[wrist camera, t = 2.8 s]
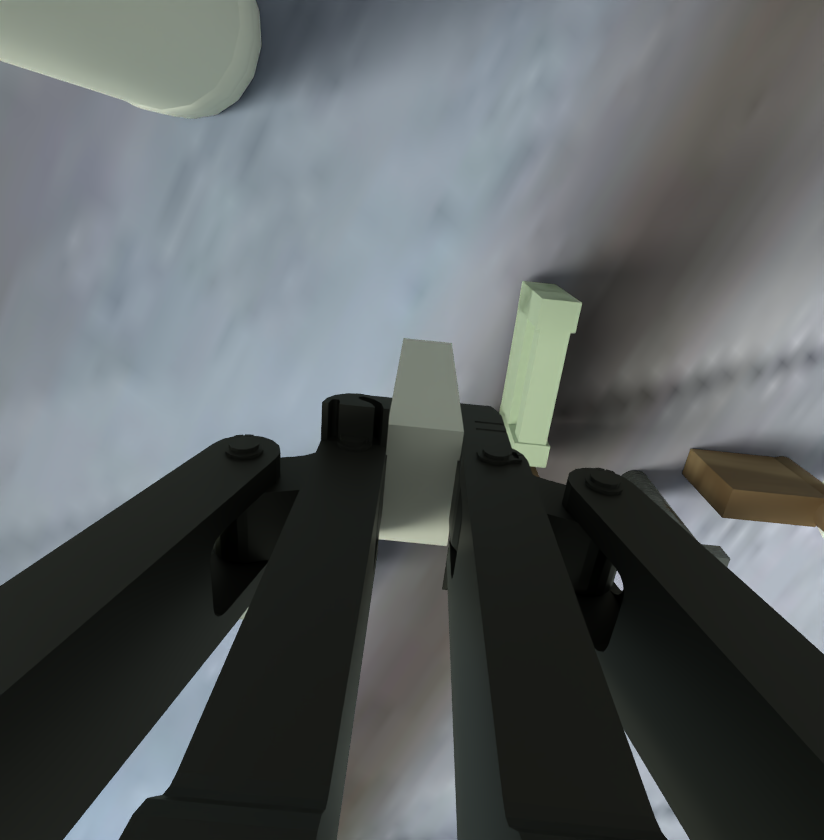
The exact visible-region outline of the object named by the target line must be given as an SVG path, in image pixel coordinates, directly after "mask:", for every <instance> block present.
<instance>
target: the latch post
mask: <svg viewBox="0 0 824 840" xmlns="http://www.w3.org/2000/svg"><path fill="white" fill-rule="evenodd" d="M622 477H625V478H626V479H628V480H629V481H630V482H632V483H633V484H635V485H636V486H637V487H638V488H639V489H640V490H641V491H642V492H644V493H645V494H646V495H647V496H648V497H649V498H650V499H651V500H653V501H654V502H655V503H656V504H657V505H658V506H659V507H660V508H661V509H663V510H664V511H665V512H666V513H667V514H668V515H669V516H670V517H671V518H673V519H674V520H675V521H676V522H677V523H678V524H679V525H680V526H681V527H683V528H684V529H685V530H686V531H687V532H688V533H689V534H690V535H691V536H693V535H692V534H691V532H690V531H689V530H688V529H687V527H686V526H685V525H684V523H683V522H682V521H681V520H680V518H679V517H678V516H677V514H676V513H675V512H674V511H673V509H672V508H671V507H670V505H669V504H668V503H667V502H666V500H665V499H664V498H663V496H662V495H661V494H660V493H659V491H658V490H657V489H656V487H655V486H654V485H653V484H652V482H651V481H650V480H649V479H648V477H647V476H646V475H645V474H644V473H643V472H640V471H629V472H626V473H624V474H623V475H622ZM693 537H694V536H693ZM694 538H695V537H694ZM702 545H703V544H702ZM703 546H704V547H705V548H706V549H707V550H708V551H709V552H710V553H712V554H713V555H714V556H715V557H716V558H717V559H718V560H719V561H720V562H722V563H723V564H724V565H725V566H726V567H727V566H728V563H729V561H730V558H729V557H728V555H727V554H726V553H725V552H724V551H723V549H722V548H721V547H720V546H713V545H703Z"/></svg>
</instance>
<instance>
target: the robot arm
mask: <svg viewBox="0 0 824 840" xmlns="http://www.w3.org/2000/svg"><path fill="white" fill-rule="evenodd" d="M449 533H450V541H449V548H448V554H447V561H446V567H445V574H444V581H443V587H442V589H443V590H448V608H449V634H450V660H451V685H452V711H453V737H454V762H455V788H456V814H457V839H458V840H668V839H667V838H666V837H665V836H664V834H663V833H662V832H661V830H660V827H659V825H658V823H657V821H656V819H655V816H654V814H653V811H652V808H651V805H650V802H649V800H648V797H647V794H646V791H645V788H644V785H643V783H642V780H641V777H640V774H639V771H638V769H637V766H636V763H635V760H634V757H633V755H632V752H631V749H630V746H629V743H628V741H627V738H626V735H625V732H626V734H627V736H628V737H629V739H630V741H631V742H632V744H633V746H634V747H635V749H636V751H637V752H638V754H639V756H640V757H641V759H642V761H643V762H644V764H645V766H646V767H647V769H648V771H649V772H650V774H651V776H652V777H653V779H654V781H655V782H656V784H657V786H658V787H659V789H660V791H661V792H662V794H663V796H664V797H665V799H666V801H667V802H668V804H669V806H670V807H671V809H672V810H673V812H674V814H675V815H676V817H677V819H678V820H679V822H680V824H681V825H682V827H683V829H684V830H685V832H686V834H687V835H688V837H689V839H690V840H824V654H823V653H822V652H821V651H820V650H819V649H817V648H816V647H815V646H814V645H813V644H812V643H811V642H810V641H808V640H807V639H806V638H805V637H804V636H803V635H802V634H801V633H800V632H798V631H797V630H796V629H795V628H794V627H793V626H792V625H791V624H790V623H788V622H787V621H786V620H785V619H784V618H783V617H782V616H781V615H780V614H778V613H777V612H776V611H775V610H774V609H773V608H772V607H771V606H769V605H768V604H767V603H766V602H765V601H764V600H763V599H762V598H761V597H759V596H758V595H757V594H756V593H755V592H754V591H753V590H752V589H751V588H749V587H748V586H747V585H746V584H745V583H744V582H743V581H742V580H741V579H739V578H738V577H737V576H736V575H735V574H734V573H733V572H732V571H730V570H729V569H728V568H727V567H726V566H725V565H724V564H723V563H722V562H720V561H719V560H718V559H717V558H716V557H715V556H714V555H713V554H712V553H710V552H709V551H708V550H707V549H706V548H705V547H704V546H703V545H702V544H700V543H699V542H698V541H697V540H696V539H695V538H694V537H693V536H691V535H690V534H689V533H688V532H687V531H686V530H685V529H684V528H683V527H681V526H680V525H679V524H678V523H677V522H676V521H675V520H674V519H673V518H671V517H670V516H669V515H668V514H667V513H666V512H665V511H664V510H663V509H661V508H660V507H659V506H658V505H657V504H656V503H655V502H654V501H653V500H651V499H650V498H649V497H648V496H647V495H646V494H645V493H644V492H642V491H641V490H640V489H639V488H638V487H637V486H636V485H635V484H633V483H632V482H630V481H629V480H628V479H626V478H625V477H622V476H620V475H618V474H615V472H613V471H610V470H607V469H606V470H604V469H602V468H580V469H575V470H574V471H572V472H570V473H569V476H568V480H567V484H566V485H564V484H560V483H556V482H553V481H549V480H546V479H543V478H540V477H537V476H535V475H533V474H532V471H531V468H530V465H529V462H528V460H527V459H526V458H525V456H524V455H523V454H521V453H520V452H518V451H517V450H515V449H512V447H511V444H510V441H509V437H508V434H507V433H506V428H505V426H504V422H503V419H502V415H501V414H500V413H498V412H497V411H496V410H495V409H493V408H492V407H491V406H481V405H471V404H462V403H460V399H459V392H458V385H457V378H456V371H455V363H454V356H453V349H452V343H445V342H435V341H425V340H416V339H406V338H404V339H403V344H402V349H401V355H400V360H399V366H398V371H397V376H396V382H395V387H394V393H393V398H388V397H379V396H370V395H364V394H350V393H347V394H339V395H334V396H331V397H328V398H326V399H325V400H324V401H323V402H322V425H321V442H320V444H319V446H318V449H317V451H316V453H313V454H309V455H305V456H297V457H282V458H280V448H279V445H278V444H277V443H275V442H274V441H273V440H270V439H267V438H264V437H259V436H254V435H245V436H243V435H236V436H234V437H230V438H225V439H222V440H220V441H218V442H216V443H214V444H212V445H211V446H209V447H208V448H206V449H205V450H203V451H202V452H200V453H199V454H197V455H196V456H194V457H193V458H191V459H190V460H188V461H187V462H185V463H184V464H182V465H181V466H179V467H178V468H176V469H175V470H173V471H172V472H170V473H169V474H167V475H166V476H164V477H163V478H161V479H160V480H158V481H157V482H155V483H154V484H152V485H151V486H149V487H148V488H146V489H145V490H143V491H142V492H140V493H139V494H137V495H136V496H134V497H133V498H131V499H130V500H128V501H127V502H125V503H124V504H122V505H121V506H119V507H118V508H116V509H115V510H113V511H112V512H110V513H109V514H107V515H106V516H104V517H103V518H101V519H100V520H98V521H97V522H95V523H94V524H92V525H91V526H89V527H88V528H86V529H85V530H83V531H82V532H80V533H79V534H77V535H76V536H74V537H73V538H71V539H70V540H68V541H67V542H65V543H64V544H62V545H61V546H59V547H58V548H56V549H55V550H53V551H52V552H50V553H49V554H47V555H46V556H44V557H43V558H41V559H40V560H38V561H37V562H35V563H34V564H32V565H31V566H29V567H28V568H27V569H25V570H24V571H22V572H21V573H19V574H18V575H16V576H15V577H13V578H12V579H10V580H9V581H7V582H6V583H4V584H3V585H1V586H0V840H63V839H64V838H65V837H66V835H67V834H68V833H69V832H70V830H71V829H72V828H73V827H74V825H75V824H76V823H77V822H78V820H79V819H80V818H81V817H82V815H83V814H84V813H85V811H86V810H87V809H88V808H89V806H90V805H91V804H92V803H93V801H94V800H95V799H96V798H97V796H98V795H99V794H100V793H101V791H102V790H103V789H104V788H105V786H106V785H107V784H108V783H109V781H110V780H111V779H112V778H113V776H114V775H115V774H116V773H117V771H118V770H119V769H120V768H121V766H122V765H123V764H124V763H125V761H126V760H127V759H128V758H129V756H130V755H131V754H132V753H133V751H134V750H135V749H136V748H137V746H138V745H139V744H140V743H141V741H142V740H143V739H144V738H145V736H146V735H147V734H148V733H149V731H150V730H151V729H152V728H153V726H154V725H155V724H156V723H157V721H158V720H159V719H160V717H161V716H162V715H163V714H164V712H165V711H166V710H167V709H168V707H169V706H170V705H171V704H172V702H173V701H174V700H175V699H176V697H177V696H178V695H179V694H180V692H181V691H182V690H183V689H184V687H185V686H186V685H187V684H188V682H189V681H190V680H191V679H192V677H193V676H194V675H195V674H196V672H197V671H198V670H199V669H200V667H201V666H202V665H203V664H204V662H205V661H206V660H207V659H208V657H209V656H210V655H211V654H212V652H213V651H214V650H215V649H216V647H217V646H218V645H219V644H220V642H221V641H222V640H223V639H224V637H225V636H226V635H227V634H228V632H229V631H230V630H231V629H232V627H233V626H234V625H235V624H236V622H237V621H238V620H239V618H240V617H241V616H242V615H243V613H244V612H245V611H246V610H247V608H248V607H249V608H248V610H247V612H246V614H245V617H244V619H243V621H242V624H241V626H240V628H239V631H238V633H237V635H236V637H235V640H234V642H233V644H232V647H231V649H230V651H229V654H228V656H227V658H226V661H225V663H224V665H223V667H222V670H221V672H220V674H219V677H218V679H217V681H216V684H215V686H214V688H213V690H212V693H211V695H210V697H209V700H208V702H207V704H206V707H205V709H204V711H203V714H202V716H201V718H200V720H199V723H198V725H197V727H196V730H195V732H194V734H193V737H192V739H191V741H190V743H189V746H188V748H187V750H186V753H185V755H184V757H183V760H182V762H181V764H180V766H179V769H178V771H177V773H176V775H175V777H174V779H173V781H172V783H171V785H170V787H169V788H168V789H167V790H166V791H165V793H164V794H163V795H160V796H155V797H150V798H147V799H146V800H145V801H144V802H143V803H142V804H141V806H140V807H139V808H138V809H137V810H136V811H135V812H134V814H133V815H132V817H131V819H130V820H129V822H128V824H127V826H126V828H125V829H124V831H123V833H122V835H121V836H120V838H119V840H337V833H338V826H339V819H340V812H341V805H342V798H343V791H344V784H345V777H346V770H347V763H348V756H349V749H350V742H351V735H352V728H353V721H354V714H355V707H356V700H357V693H358V686H359V679H360V672H361V665H362V658H363V651H364V644H365V637H366V630H367V623H368V616H369V609H370V602H371V595H372V588H373V581H374V574H375V567H376V560H377V552H378V541H379V539H382V540H392V541H402V542H412V543H422V544H432V545H442V546H447V542H448V535H449ZM616 571H618V573H619V574H620V576H621V579H622V582H623V588H624V589H623V591H621V590H620V589H619V588H618V587H617V585H616V584H615V583H614V582H613V581H614V578H615V575H616ZM624 731H625V732H624Z"/></svg>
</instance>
